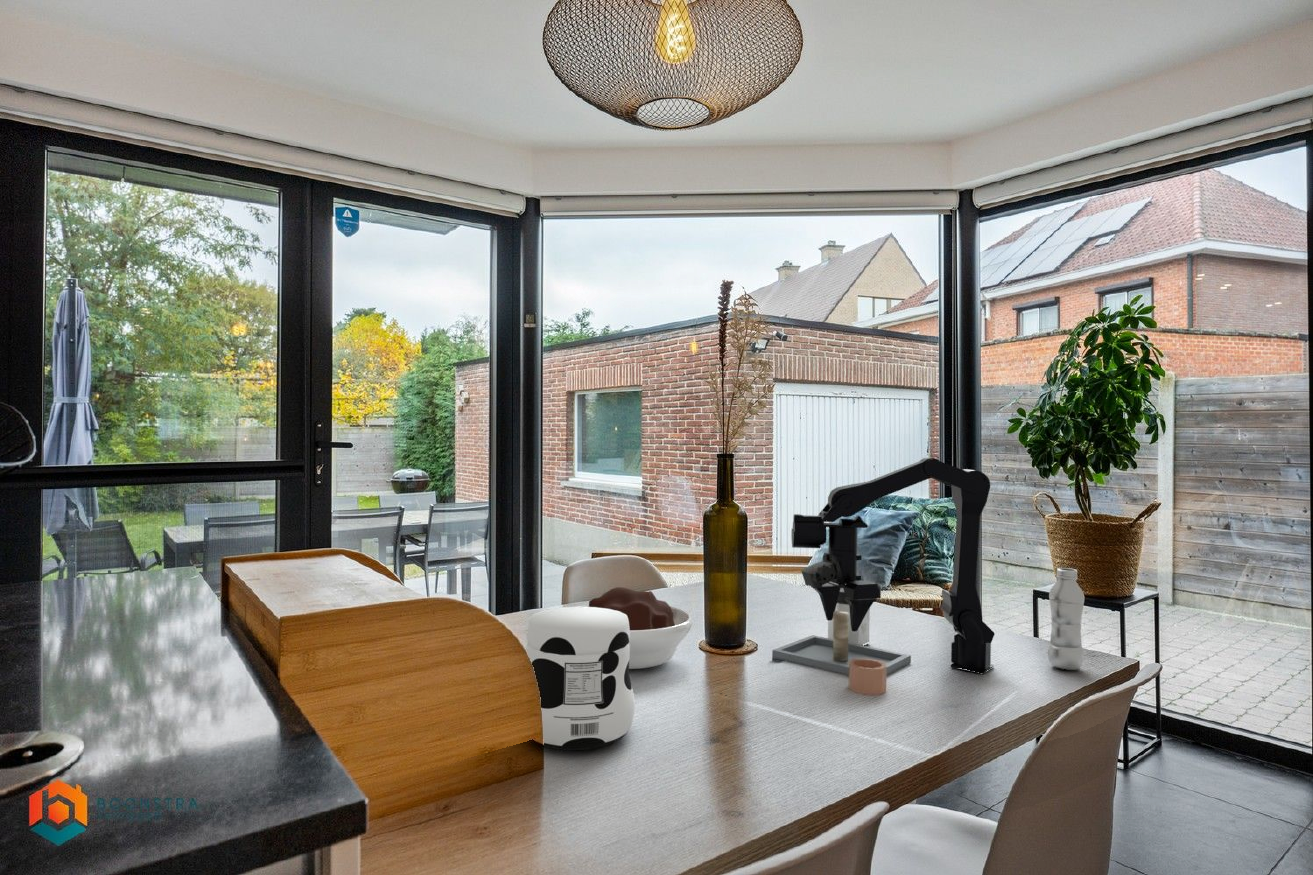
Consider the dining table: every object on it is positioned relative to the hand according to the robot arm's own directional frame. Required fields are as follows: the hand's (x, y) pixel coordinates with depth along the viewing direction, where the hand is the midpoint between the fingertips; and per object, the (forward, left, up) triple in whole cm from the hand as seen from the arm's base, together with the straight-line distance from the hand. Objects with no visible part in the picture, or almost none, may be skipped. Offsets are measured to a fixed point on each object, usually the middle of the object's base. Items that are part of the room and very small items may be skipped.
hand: (841, 625), depth 157 cm
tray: (0, 0, -8) cm, 8 cm away
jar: (+6, -15, -8) cm, 18 cm away
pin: (0, 0, -7) cm, 7 cm away
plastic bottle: (-35, -28, -8) cm, 45 cm away
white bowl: (+31, +30, -8) cm, 44 cm away
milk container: (+11, +63, -8) cm, 64 cm away
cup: (-12, +13, -8) cm, 19 cm away
